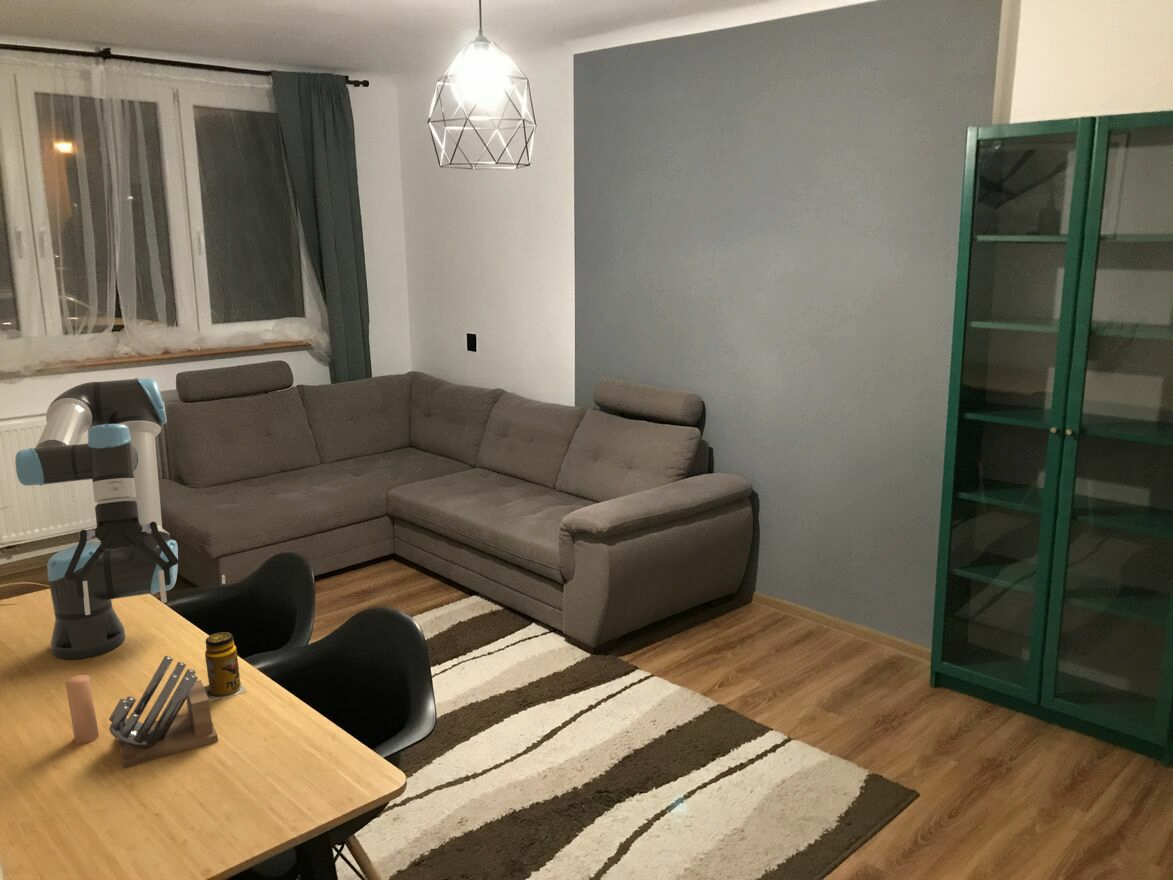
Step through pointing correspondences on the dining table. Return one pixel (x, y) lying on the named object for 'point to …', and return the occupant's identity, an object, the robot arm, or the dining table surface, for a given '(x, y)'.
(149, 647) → the dining table surface
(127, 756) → the socket base
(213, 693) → the condiment
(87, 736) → the peg
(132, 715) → the socket
